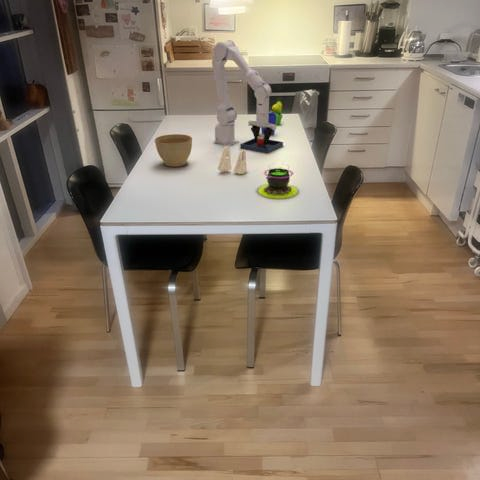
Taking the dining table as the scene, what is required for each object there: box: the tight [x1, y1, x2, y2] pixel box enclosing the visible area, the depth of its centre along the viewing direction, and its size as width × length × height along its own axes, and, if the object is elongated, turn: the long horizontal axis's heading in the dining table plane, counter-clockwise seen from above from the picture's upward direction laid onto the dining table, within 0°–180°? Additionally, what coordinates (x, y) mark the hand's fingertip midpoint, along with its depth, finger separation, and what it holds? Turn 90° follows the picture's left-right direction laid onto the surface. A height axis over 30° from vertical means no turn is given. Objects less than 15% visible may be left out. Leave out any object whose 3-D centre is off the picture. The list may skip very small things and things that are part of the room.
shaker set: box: [217, 145, 248, 175], centre depth 198 cm, size 12×4×11 cm, turn 81°
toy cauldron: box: [258, 162, 298, 200], centre depth 180 cm, size 15×15×11 cm
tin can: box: [257, 133, 266, 148], centre depth 229 cm, size 5×5×5 cm
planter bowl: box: [154, 133, 193, 168], centre depth 208 cm, size 16×16×11 cm
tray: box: [239, 137, 284, 154], centre depth 230 cm, size 15×14×2 cm
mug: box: [260, 113, 277, 137], centre depth 249 cm, size 8×12×10 cm
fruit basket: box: [269, 100, 283, 126], centre depth 267 cm, size 11×9×11 cm
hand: (261, 143), depth 229 cm, fingers closed on tin can, 5 cm apart
